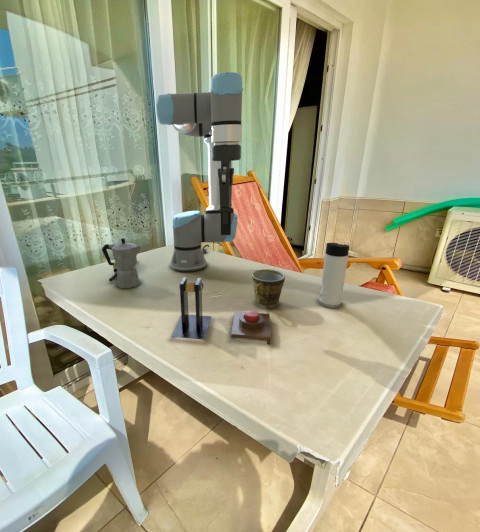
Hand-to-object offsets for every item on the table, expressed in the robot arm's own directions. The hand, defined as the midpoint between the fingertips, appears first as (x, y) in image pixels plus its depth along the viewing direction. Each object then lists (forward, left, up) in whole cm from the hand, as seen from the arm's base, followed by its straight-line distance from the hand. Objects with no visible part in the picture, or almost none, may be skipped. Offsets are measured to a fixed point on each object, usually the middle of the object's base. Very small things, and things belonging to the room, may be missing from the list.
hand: (225, 234), depth 85 cm
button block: (+10, +8, -24) cm, 28 cm away
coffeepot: (-16, -40, -25) cm, 50 cm away
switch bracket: (+12, -8, -24) cm, 28 cm away
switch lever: (+8, -8, -15) cm, 19 cm away
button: (+10, +8, -21) cm, 24 cm away
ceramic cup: (-5, +12, -25) cm, 28 cm away
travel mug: (-9, +32, -25) cm, 41 cm away
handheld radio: (-28, -46, -25) cm, 59 cm away
